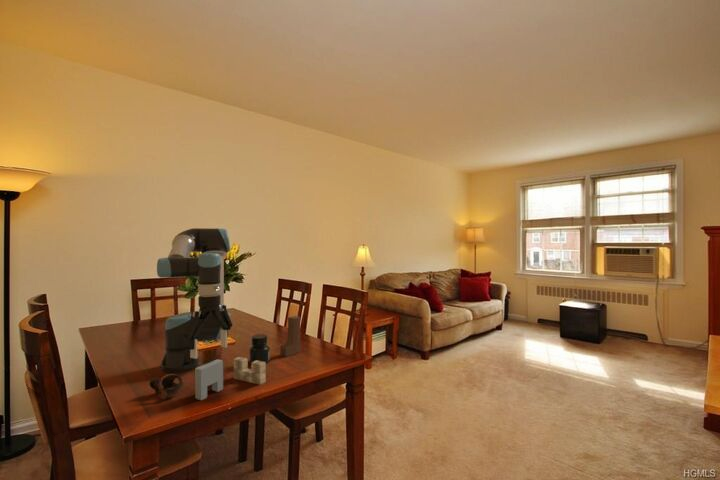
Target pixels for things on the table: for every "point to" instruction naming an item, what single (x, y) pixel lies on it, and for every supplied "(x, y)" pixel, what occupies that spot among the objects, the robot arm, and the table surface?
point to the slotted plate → (208, 378)
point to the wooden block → (292, 337)
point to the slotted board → (250, 371)
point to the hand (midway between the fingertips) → (209, 352)
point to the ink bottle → (259, 349)
